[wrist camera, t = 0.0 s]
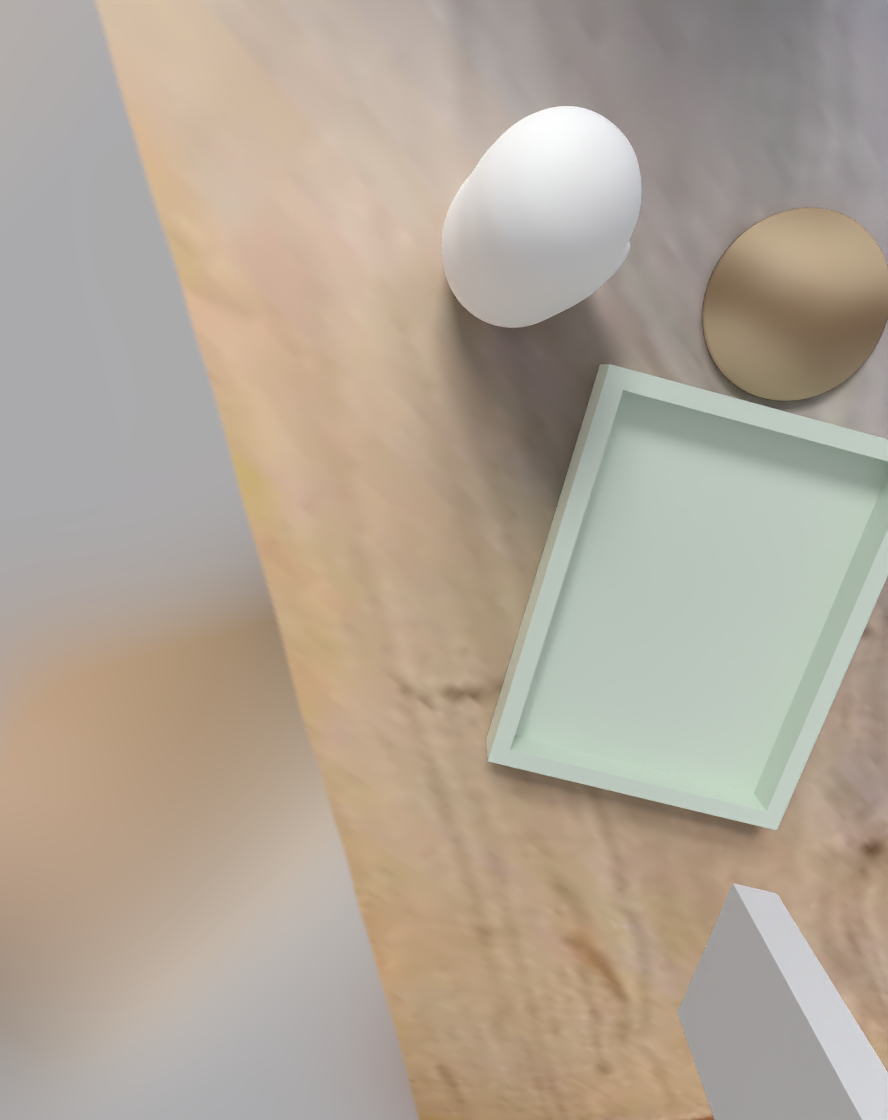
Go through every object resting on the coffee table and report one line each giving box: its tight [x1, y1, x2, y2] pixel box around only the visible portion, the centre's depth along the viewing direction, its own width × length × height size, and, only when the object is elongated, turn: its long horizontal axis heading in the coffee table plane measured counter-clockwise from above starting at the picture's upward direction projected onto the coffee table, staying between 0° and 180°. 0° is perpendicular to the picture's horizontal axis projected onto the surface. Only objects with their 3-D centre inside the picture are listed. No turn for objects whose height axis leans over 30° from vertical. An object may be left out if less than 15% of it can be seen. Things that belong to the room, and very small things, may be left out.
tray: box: [486, 364, 888, 830], centre depth 38 cm, size 22×17×2 cm
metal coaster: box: [702, 208, 888, 401], centre depth 35 cm, size 9×9×1 cm
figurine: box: [441, 106, 642, 328], centre depth 29 cm, size 7×8×12 cm
